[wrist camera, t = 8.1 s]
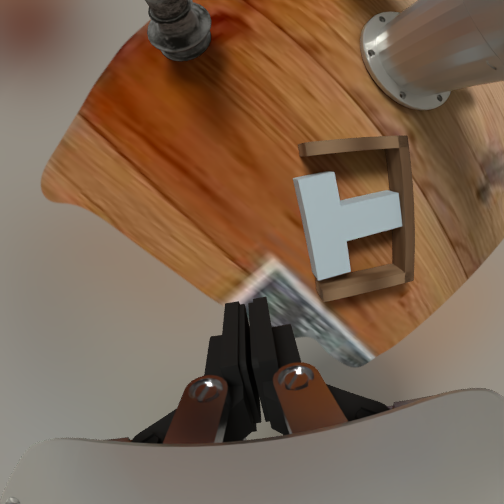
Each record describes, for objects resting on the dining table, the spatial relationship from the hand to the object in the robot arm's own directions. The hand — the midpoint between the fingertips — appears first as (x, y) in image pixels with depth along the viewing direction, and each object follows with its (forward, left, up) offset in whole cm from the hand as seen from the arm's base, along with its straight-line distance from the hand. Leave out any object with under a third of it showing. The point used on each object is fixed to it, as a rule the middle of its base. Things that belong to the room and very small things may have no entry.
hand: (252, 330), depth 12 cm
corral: (-12, 0, -18) cm, 22 cm away
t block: (-11, 0, -18) cm, 21 cm away
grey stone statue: (+2, -21, -18) cm, 28 cm away
